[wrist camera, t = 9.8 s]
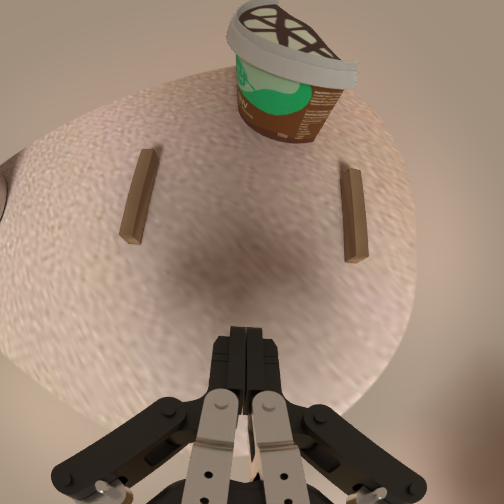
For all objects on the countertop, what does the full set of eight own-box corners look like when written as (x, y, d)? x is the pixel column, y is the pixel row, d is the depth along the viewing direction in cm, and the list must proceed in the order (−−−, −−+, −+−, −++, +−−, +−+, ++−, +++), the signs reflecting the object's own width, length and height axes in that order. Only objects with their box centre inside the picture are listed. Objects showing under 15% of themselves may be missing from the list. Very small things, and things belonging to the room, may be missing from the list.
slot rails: (128, 243, 19) (118, 234, 17) (147, 162, 21) (141, 148, 19) (356, 263, 20) (368, 256, 18) (351, 182, 22) (360, 170, 20)
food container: (208, 82, 24) (206, -1, 14) (263, 71, 25) (275, -6, 15) (255, 172, 21) (273, 72, 12) (321, 154, 22) (364, 67, 13)
